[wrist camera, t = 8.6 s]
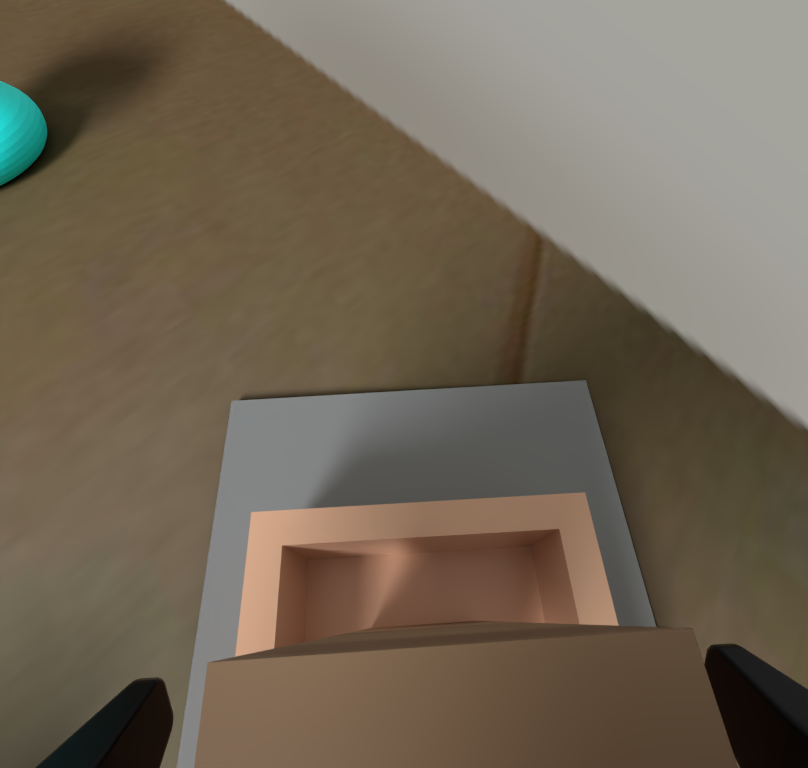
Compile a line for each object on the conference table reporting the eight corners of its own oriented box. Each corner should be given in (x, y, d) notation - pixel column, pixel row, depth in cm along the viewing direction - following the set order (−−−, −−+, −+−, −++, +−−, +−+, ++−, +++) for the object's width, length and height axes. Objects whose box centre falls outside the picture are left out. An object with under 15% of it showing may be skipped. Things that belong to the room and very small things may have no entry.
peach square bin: (622, 891, 12) (716, 1015, 8) (261, 913, 12) (191, 1048, 8) (547, 520, 17) (585, 492, 13) (288, 536, 17) (251, 512, 13)
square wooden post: (492, 754, 13) (1077, 1800, 1) (374, 763, 13) (48, 1898, 1) (476, 620, 15) (693, 627, 3) (371, 628, 15) (207, 661, 3)
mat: (829, 1262, 10) (845, 1286, 9) (103, 1309, 10) (91, 1334, 9) (582, 384, 20) (585, 380, 20) (234, 404, 20) (231, 400, 20)
